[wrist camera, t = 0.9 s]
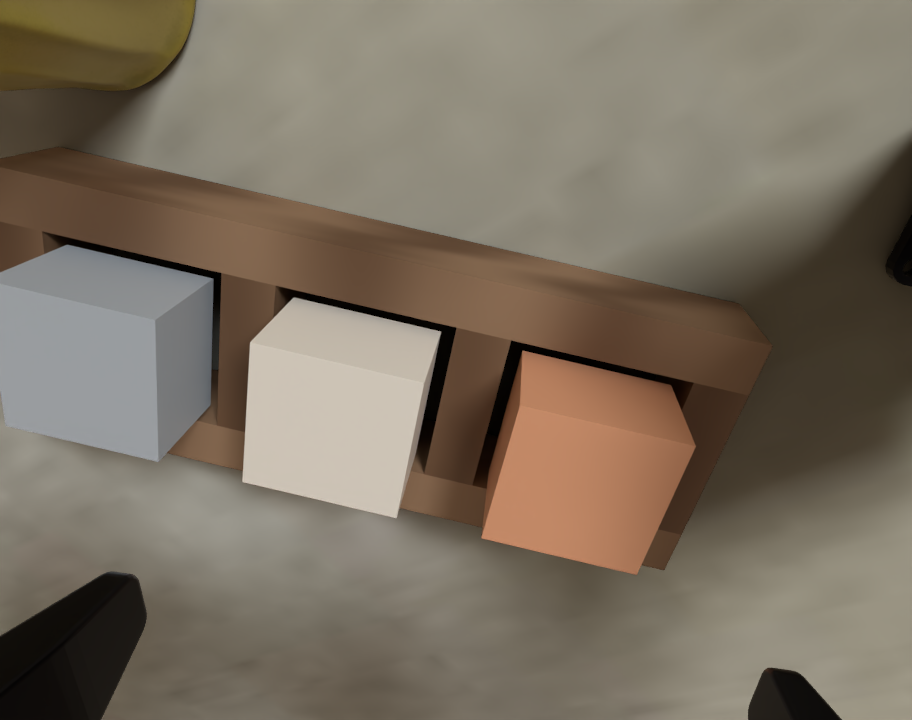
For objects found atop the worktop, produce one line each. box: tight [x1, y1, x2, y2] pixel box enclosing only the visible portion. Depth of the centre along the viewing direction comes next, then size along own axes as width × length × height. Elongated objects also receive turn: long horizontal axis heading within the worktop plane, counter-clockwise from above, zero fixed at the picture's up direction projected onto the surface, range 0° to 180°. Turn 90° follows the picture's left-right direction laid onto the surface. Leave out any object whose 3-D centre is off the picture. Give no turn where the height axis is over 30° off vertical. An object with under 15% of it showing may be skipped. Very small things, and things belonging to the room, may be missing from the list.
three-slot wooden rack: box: [0, 147, 773, 570], centre depth 19 cm, size 21×8×3 cm, turn 79°
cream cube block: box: [242, 297, 441, 518], centre depth 17 cm, size 4×4×3 cm
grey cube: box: [0, 245, 213, 462], centre depth 17 cm, size 4×4×3 cm
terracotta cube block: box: [481, 350, 696, 575], centre depth 17 cm, size 4×4×3 cm
